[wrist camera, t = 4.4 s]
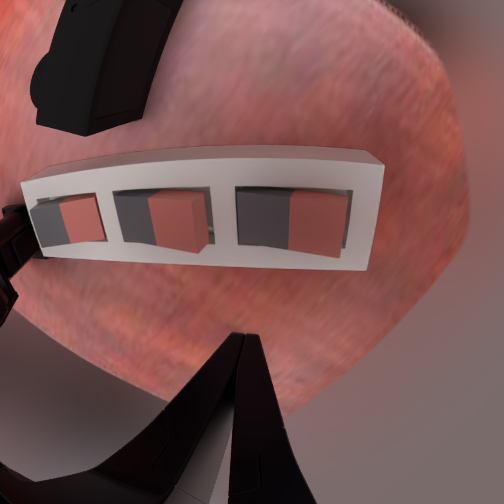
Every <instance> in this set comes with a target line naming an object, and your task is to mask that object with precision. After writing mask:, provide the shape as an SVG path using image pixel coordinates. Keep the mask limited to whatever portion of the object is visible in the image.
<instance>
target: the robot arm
mask: <svg viewBox="0 0 504 504" xmlns="http://www.w3.org/2000/svg"><path fill="white" fill-rule="evenodd" d="M2 213H3V216H4V218H2V219H1V220H0V327H1V326H2V325H3V323H4V322H5V320H6V318H7V316H8V314H9V313H10V311H11V309H12V307H13V305H14V304H15V302H16V300H17V298H18V297H19V295H18V293H17V292H16V291H15V290H14V288H13V286H12V284H11V283H10V281H9V280H10V279H11V278H12V277H13V276H14V275H15V274H16V273H17V272H18V271H19V270H20V269H21V268H22V267H23V266H24V265H25V264H26V263H27V262H28V261H29V260H30V259H31V258H37V259H48V258H49V257H46V256H43V253H42V251H41V248H40V245H39V243H38V240H37V237H36V234H35V231H34V228H33V225H32V222H31V219H30V216H29V213H28V209H27V206H26V204H20V205H13V206H6V207H4V208H2ZM164 410H165V411H164ZM164 410H162V411H161V412H160V414H158V415H157V417H156V418H155V419H154V420H153V421H152V422H151V423H150V424H149V425H148V426H147V427H146V428H145V429H144V430H142V431H141V432H140V433H139V434H138V435H137V436H136V437H134V438H133V439H132V440H131V441H130V442H128V443H127V444H126V445H125V446H123V447H122V448H121V449H119V450H118V451H117V452H116V453H114V454H113V455H112V456H110V457H109V458H108V459H106V460H105V461H104V462H103V463H101V464H100V465H98V466H96V467H94V468H92V469H89V470H87V471H84V472H80V473H76V474H72V475H68V476H63V477H59V478H54V479H49V480H44V481H38V482H34V481H32V480H30V479H28V478H27V477H25V476H23V475H21V474H19V473H18V472H16V471H14V470H12V469H10V468H8V467H7V466H6V465H4V464H3V463H2V462H0V504H209V501H210V498H211V495H212V492H213V488H214V485H215V482H216V479H217V476H218V472H219V469H220V466H221V463H222V459H223V456H224V453H225V449H226V446H227V442H228V439H229V436H230V432H231V429H232V426H233V429H232V444H231V461H230V476H229V493H228V496H229V498H228V504H317V503H316V501H315V499H314V496H313V494H312V492H311V490H310V489H309V487H308V484H307V483H306V480H305V478H304V476H303V474H302V472H301V470H300V468H299V466H298V463H297V461H296V459H295V456H294V454H293V451H292V448H291V446H290V442H289V439H288V436H287V432H286V429H285V428H284V422H283V419H282V415H281V412H280V408H279V405H278V401H277V398H276V394H275V391H274V387H273V383H272V380H271V376H270V373H269V369H268V366H267V362H266V358H265V355H264V351H263V347H262V344H261V340H260V337H259V335H258V334H250V333H247V334H246V335H245V334H244V333H238V332H232V333H231V334H230V335H229V336H228V337H227V338H226V339H225V341H224V342H223V343H222V344H221V345H220V346H219V348H218V349H217V350H216V351H215V352H214V353H213V354H212V356H211V357H210V358H209V359H208V360H207V361H206V362H205V364H204V365H203V366H202V367H201V368H200V369H199V370H198V372H197V373H196V374H195V375H194V376H193V377H192V378H191V379H190V380H189V382H188V383H187V384H186V385H185V386H184V387H183V388H182V389H181V391H180V392H179V393H178V394H177V395H176V396H175V397H174V398H173V399H172V400H171V402H170V403H169V404H168V405H167V406H166V407H165V408H164Z"/></svg>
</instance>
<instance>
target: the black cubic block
mask: <svg viewBox="0 0 504 504" xmlns="http://www.w3.org/2000/svg"><path fill="white" fill-rule="evenodd" d="M182 2H183V0H66V2H65V4H64V7H63V9H62V12H61V15H60V18H59V20H58V23H57V26H56V30H55V33H54V36H53V39H52V43H51V46H50V50H49V52H48V53H47V54H46V55H45V56H44V57H43V58H42V59H41V60H40V62H39V63H38V65H37V66H36V68H35V71H34V73H33V76H32V79H31V84H30V96H31V100H32V102H33V104H34V106H35V107H36V108H37V117H36V124H37V125H41V126H45V127H50V128H54V129H58V130H61V131H65V132H69V133H73V134H77V135H80V136H85V137H86V136H90V135H93V134H96V133H99V132H102V131H104V130H107V129H110V128H113V127H116V126H119V125H122V124H126V123H129V122H132V121H136V120H139V119H142V116H143V112H144V109H145V105H146V102H147V98H148V95H149V91H150V88H151V85H152V81H153V78H154V75H155V72H156V69H157V66H158V63H159V60H160V57H161V54H162V51H163V49H164V46H165V43H166V41H167V38H168V35H169V33H170V30H171V28H172V25H173V23H174V21H175V18H176V16H177V13H178V11H179V9H180V7H181V4H182Z"/></svg>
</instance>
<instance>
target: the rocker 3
mask: <svg viewBox="0 0 504 504" xmlns="http://www.w3.org/2000/svg"><path fill="white" fill-rule="evenodd" d="M347 203H348V196H343V195H336V194H329V193H322V192H314V191H306V190H298V189H289V188H280V187H270V186H243V187H242V188H241V189H240V190H238V191H237V209H238V228H239V242H241V243H247V244H253V245H260V246H266V247H272V248H278V249H284V250H291V251H297V252H303V253H309V254H315V255H321V256H327V257H333V258H339V259H340V254H341V247H342V241H343V234H344V227H345V219H346V211H347Z"/></svg>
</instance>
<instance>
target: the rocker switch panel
mask: <svg viewBox="0 0 504 504" xmlns="http://www.w3.org/2000/svg"><path fill="white" fill-rule="evenodd" d="M384 168H385V165H384V164H383V163H381V162H380V161H379V160H378V159H376V158H375V157H374V156H373V155H371V154H370V153H369V152H368V151H366V150H358V149H347V148H335V147H319V146H299V145H219V146H198V147H183V148H170V149H159V150H149V151H140V152H132V153H124V154H117V155H110V156H104V157H97V158H91V159H86V160H80V161H75V162H70V163H65V164H60V165H55V166H50V167H48V168H46V169H44V170H42V171H40V172H38V173H37V174H35V175H33V176H31V177H29V178H28V179H26V180H24V181H22V182H21V183H20V184H21V188H22V192H23V195H24V199H25V203H26V206H27V209H28V213H29V216H30V219H31V222H32V225H33V228H34V231H35V234H36V237H37V240H38V243H39V245H40V248H41V251H42V253H43V256H46V257H61V258H76V259H92V260H109V261H126V262H145V263H164V264H185V265H207V266H230V267H256V268H284V269H317V270H356V271H366V270H367V266H368V261H369V257H370V252H371V247H372V243H373V238H374V232H375V227H376V222H377V216H378V210H379V204H380V198H381V191H382V184H383V176H384ZM243 186H270V187H280V188H289V189H298V190H306V191H314V192H322V193H329V194H336V195H343V196H348V203H347V211H346V219H345V227H344V234H343V241H342V247H341V254H340V259H339V258H333V257H327V256H321V255H315V254H309V253H303V252H297V251H291V250H284V249H278V248H272V247H266V246H260V245H253V244H247V243H241V242H239V228H238V209H237V191H238V190H240V189H241V188H242V187H243ZM131 189H156V190H173V191H187V192H201V193H204V198H205V208H206V217H207V227H208V236H209V243H208V244H207V245H206V246H205V247H204V248H203V249H202V250H201V251H200V253H199V254H196V253H191V252H185V251H180V250H175V249H170V248H164V247H159V246H154V245H149V244H144V243H138V242H133V241H128V240H124V239H123V235H122V231H121V227H120V223H119V219H118V215H117V210H116V206H115V201H114V197H113V196H114V195H116V194H118V193H119V192H121V191H123V190H131ZM93 192H96V196H97V200H98V205H99V209H100V213H101V217H102V221H103V225H104V228H105V232H106V236H107V237H106V238H105V239H103V240H96V241H88V242H80V243H73V244H66V245H58V246H51V247H45V248H42V247H41V244H40V242H39V239H38V236H37V233H36V230H35V227H34V224H33V221H32V218H31V215H30V210H31V209H32V208H33V207H34V206H35V205H36V204H38V203H41V202H46V201H50V200H55V199H59V198H64V197H69V196H73V195H78V194H84V193H93Z"/></svg>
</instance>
